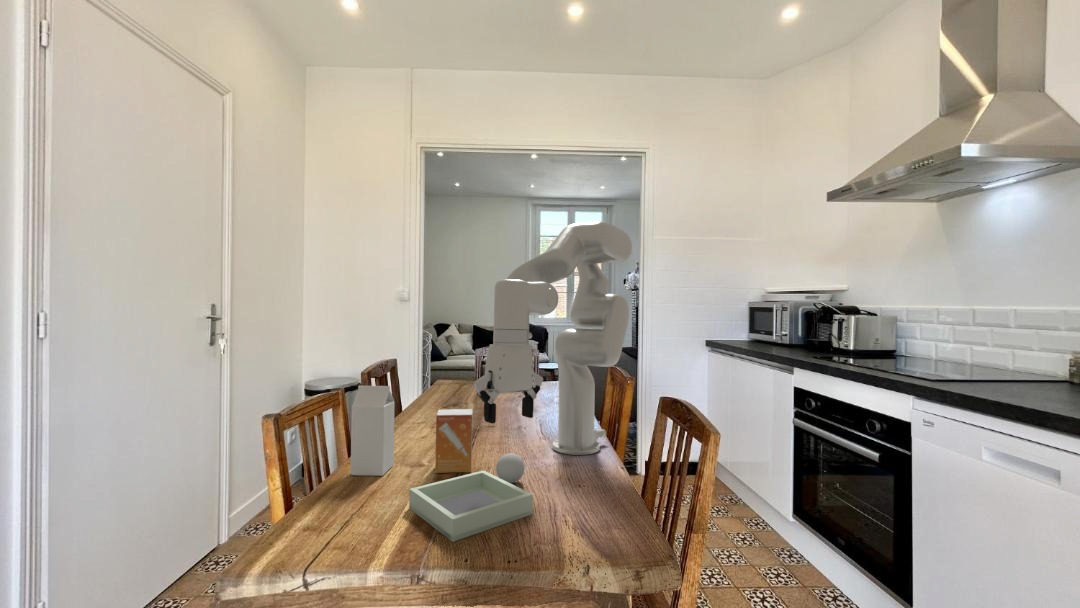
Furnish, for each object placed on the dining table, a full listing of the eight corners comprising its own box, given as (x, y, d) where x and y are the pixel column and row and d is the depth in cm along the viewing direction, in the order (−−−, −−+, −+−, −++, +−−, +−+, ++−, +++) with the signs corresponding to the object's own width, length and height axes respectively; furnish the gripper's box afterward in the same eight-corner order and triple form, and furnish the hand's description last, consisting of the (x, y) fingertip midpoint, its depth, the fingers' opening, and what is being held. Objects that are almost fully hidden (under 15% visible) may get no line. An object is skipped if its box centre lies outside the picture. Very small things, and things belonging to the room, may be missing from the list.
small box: (434, 474, 103) (435, 414, 103) (437, 464, 109) (437, 409, 109) (471, 472, 104) (472, 414, 104) (472, 463, 110) (472, 408, 111)
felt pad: (479, 491, 91) (479, 490, 91) (508, 508, 83) (509, 506, 83) (432, 504, 85) (432, 503, 85) (459, 524, 77) (459, 522, 77)
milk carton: (382, 476, 101) (384, 388, 101) (350, 476, 101) (351, 388, 102) (393, 465, 108) (394, 383, 109) (363, 465, 108) (364, 383, 109)
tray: (483, 487, 95) (483, 470, 95) (532, 514, 83) (532, 494, 83) (409, 508, 85) (409, 488, 85) (452, 541, 73) (452, 519, 73)
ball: (513, 475, 102) (513, 447, 103) (530, 483, 98) (530, 454, 98) (490, 481, 99) (490, 453, 99) (506, 490, 94) (507, 460, 94)
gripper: (532, 337, 107) (530, 412, 106) (466, 337, 96) (464, 421, 95) (553, 338, 101) (551, 417, 101) (486, 339, 90) (484, 428, 90)
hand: (509, 419), depth 98 cm, fingers open, 9 cm apart
